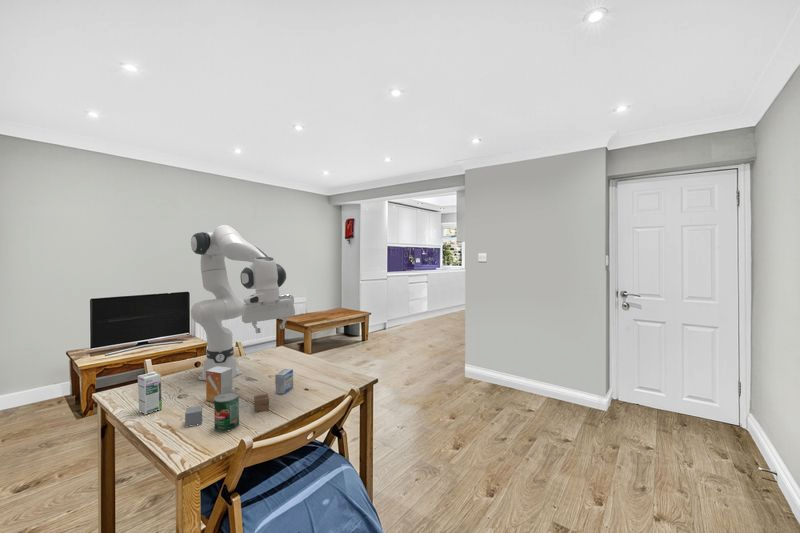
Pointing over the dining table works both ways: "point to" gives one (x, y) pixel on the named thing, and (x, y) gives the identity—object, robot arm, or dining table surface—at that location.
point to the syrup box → (149, 392)
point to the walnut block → (261, 403)
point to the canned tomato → (226, 411)
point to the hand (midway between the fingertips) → (270, 330)
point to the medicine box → (284, 381)
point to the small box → (218, 382)
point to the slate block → (193, 416)
